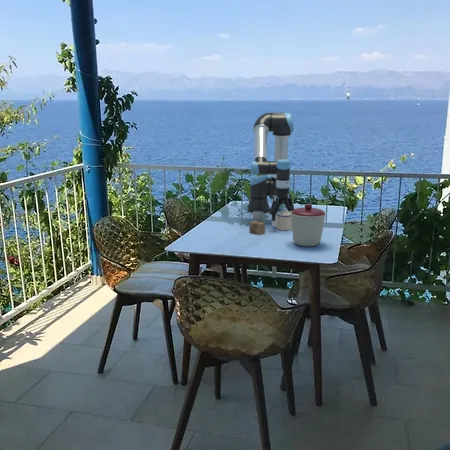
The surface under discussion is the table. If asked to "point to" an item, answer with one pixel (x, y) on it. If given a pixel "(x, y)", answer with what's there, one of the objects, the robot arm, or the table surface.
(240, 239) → the table surface
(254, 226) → the walnut block
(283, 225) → the teacup with lid
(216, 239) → the table surface
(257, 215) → the grey rounded piece
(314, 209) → the canister
